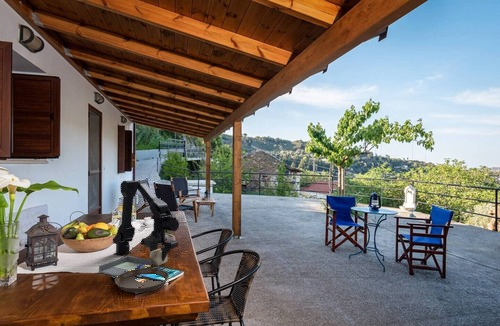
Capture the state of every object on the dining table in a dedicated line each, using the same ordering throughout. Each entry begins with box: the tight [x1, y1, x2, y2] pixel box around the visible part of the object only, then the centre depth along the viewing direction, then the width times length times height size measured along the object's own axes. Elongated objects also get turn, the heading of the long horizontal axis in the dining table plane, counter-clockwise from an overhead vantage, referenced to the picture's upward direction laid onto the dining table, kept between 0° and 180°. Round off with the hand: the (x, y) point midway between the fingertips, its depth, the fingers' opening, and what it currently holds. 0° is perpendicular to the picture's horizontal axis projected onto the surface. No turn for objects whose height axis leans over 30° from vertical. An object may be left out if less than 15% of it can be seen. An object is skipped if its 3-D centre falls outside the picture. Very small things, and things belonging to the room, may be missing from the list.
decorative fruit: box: [160, 231, 176, 248], centre depth 175 cm, size 9×8×10 cm
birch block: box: [149, 248, 168, 267], centre depth 151 cm, size 5×7×6 cm
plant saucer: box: [114, 267, 170, 294], centre depth 125 cm, size 21×21×3 cm
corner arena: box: [98, 255, 153, 277], centre depth 141 cm, size 15×17×3 cm
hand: (158, 260), depth 151 cm, fingers closed on birch block, 5 cm apart
